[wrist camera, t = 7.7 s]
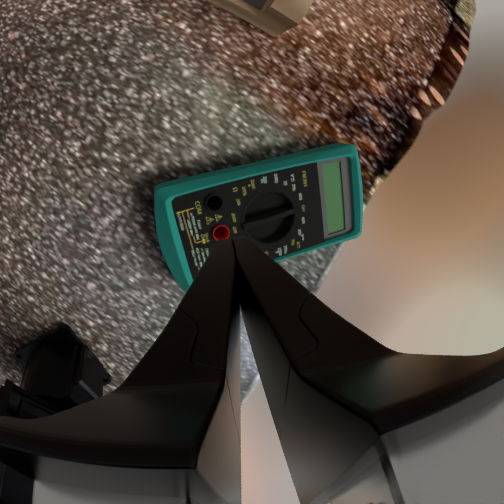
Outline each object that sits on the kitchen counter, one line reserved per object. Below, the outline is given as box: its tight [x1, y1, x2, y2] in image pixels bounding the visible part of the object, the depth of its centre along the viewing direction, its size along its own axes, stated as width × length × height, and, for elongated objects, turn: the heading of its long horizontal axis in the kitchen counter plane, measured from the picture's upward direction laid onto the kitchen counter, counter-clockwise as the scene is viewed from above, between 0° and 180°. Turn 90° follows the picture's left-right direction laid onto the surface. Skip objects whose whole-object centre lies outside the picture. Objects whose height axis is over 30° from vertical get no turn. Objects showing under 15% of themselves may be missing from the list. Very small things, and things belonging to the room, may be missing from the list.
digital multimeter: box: [154, 143, 363, 293], centre depth 21 cm, size 7×15×3 cm, turn 101°
